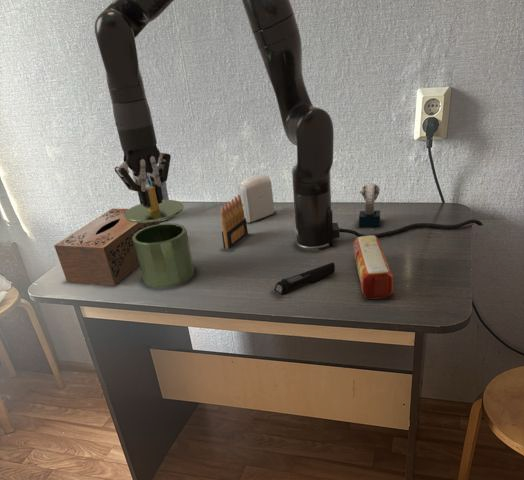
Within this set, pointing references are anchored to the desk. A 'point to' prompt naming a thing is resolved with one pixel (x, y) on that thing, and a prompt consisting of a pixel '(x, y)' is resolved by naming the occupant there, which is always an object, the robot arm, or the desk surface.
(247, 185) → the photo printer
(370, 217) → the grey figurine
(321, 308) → the desk surface
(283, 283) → the electric trimmer
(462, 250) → the desk surface
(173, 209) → the lid
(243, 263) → the desk surface
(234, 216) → the ammunition clip
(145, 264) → the canister
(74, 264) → the tissue box cover
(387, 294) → the snack package
